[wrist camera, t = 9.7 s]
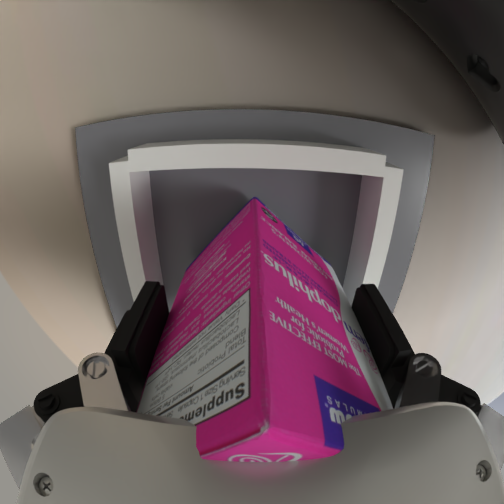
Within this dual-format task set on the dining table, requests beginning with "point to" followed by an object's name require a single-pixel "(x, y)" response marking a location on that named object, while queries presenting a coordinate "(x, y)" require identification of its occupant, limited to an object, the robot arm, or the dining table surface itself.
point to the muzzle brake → (468, 44)
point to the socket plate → (250, 192)
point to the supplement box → (262, 349)
